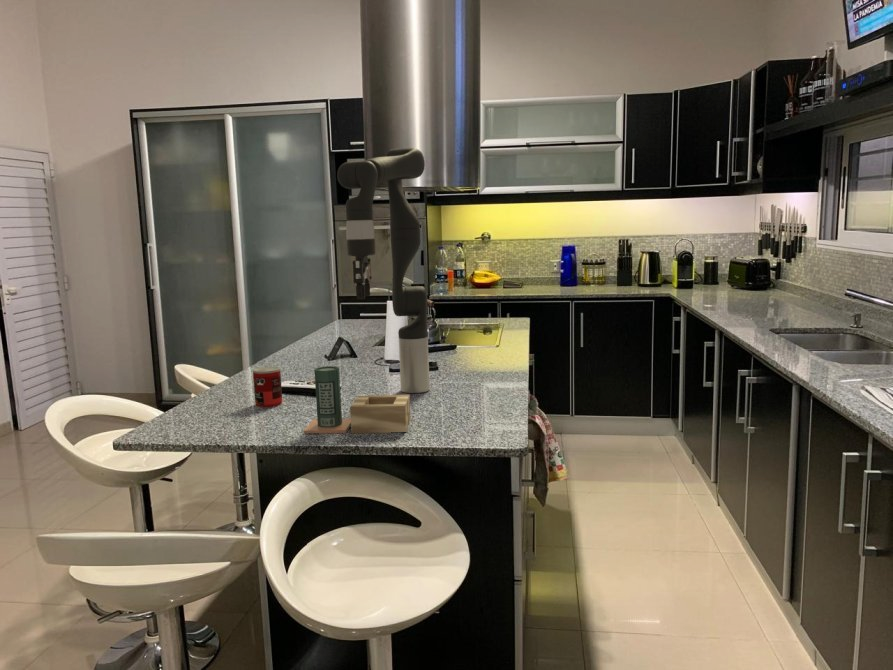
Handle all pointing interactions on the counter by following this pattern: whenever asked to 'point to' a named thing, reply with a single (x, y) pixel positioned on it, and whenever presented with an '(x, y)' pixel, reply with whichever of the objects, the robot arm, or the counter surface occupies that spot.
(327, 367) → the can
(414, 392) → the robot arm
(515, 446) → the counter surface
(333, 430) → the plate
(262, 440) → the counter surface
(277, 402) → the canned food
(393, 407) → the bore block
